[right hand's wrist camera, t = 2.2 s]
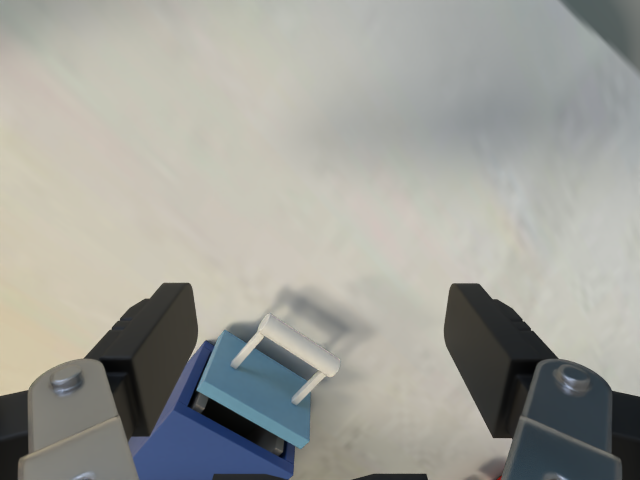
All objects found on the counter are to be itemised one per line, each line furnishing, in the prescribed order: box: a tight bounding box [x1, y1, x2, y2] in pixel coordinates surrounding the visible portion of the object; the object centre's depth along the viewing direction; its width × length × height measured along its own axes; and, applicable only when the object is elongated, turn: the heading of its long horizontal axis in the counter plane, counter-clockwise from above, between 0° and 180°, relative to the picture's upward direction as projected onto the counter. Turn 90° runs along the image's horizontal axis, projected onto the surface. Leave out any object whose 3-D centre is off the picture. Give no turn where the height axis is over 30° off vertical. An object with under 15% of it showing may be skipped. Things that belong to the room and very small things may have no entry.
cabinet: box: [128, 341, 295, 480], centre depth 35 cm, size 16×11×8 cm
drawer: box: [187, 313, 341, 456], centre depth 33 cm, size 21×10×7 cm, turn 142°
